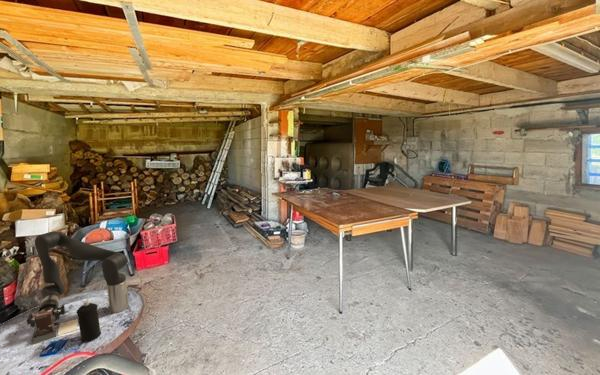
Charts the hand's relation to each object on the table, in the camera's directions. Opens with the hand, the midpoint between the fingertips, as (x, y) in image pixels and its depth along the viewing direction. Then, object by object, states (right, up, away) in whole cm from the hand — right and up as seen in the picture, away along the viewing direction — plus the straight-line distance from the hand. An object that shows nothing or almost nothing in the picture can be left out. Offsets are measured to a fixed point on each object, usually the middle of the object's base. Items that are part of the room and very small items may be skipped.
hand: (44, 322), depth 135 cm
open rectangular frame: (-1, -7, +2) cm, 7 cm away
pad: (+6, -6, +7) cm, 11 cm away
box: (-1, -7, +2) cm, 7 cm away
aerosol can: (+22, -8, +1) cm, 24 cm away
